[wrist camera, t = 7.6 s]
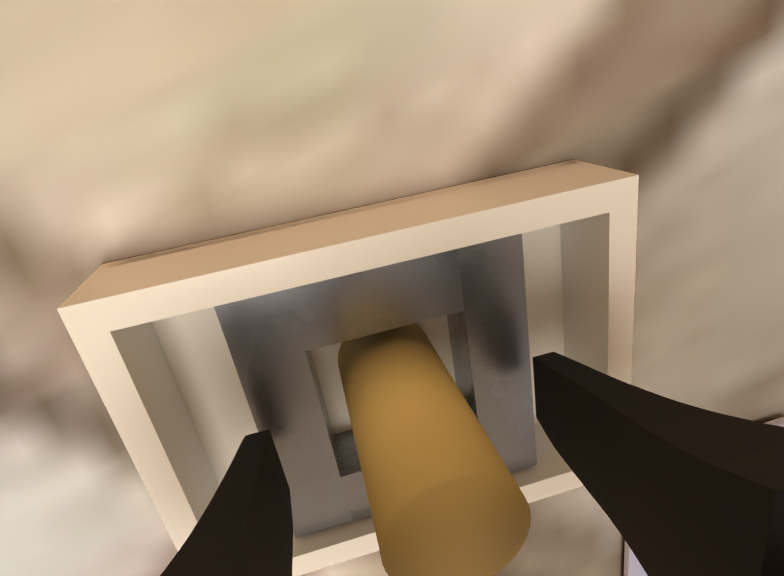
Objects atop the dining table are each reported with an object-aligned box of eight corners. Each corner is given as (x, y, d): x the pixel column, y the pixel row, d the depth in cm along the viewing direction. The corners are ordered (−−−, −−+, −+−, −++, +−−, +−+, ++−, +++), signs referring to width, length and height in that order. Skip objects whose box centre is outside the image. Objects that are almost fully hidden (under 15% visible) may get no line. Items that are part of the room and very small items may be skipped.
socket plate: (510, 426, 18) (536, 464, 16) (293, 489, 17) (295, 537, 15) (491, 215, 15) (521, 233, 13) (222, 278, 14) (213, 307, 12)
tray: (578, 417, 19) (628, 471, 16) (216, 524, 17) (204, 605, 15) (573, 159, 15) (638, 174, 12) (101, 264, 13) (56, 308, 11)
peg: (432, 386, 17) (528, 571, 10) (343, 404, 16) (387, 610, 10) (427, 306, 15) (532, 458, 9) (331, 323, 15) (373, 496, 9)
